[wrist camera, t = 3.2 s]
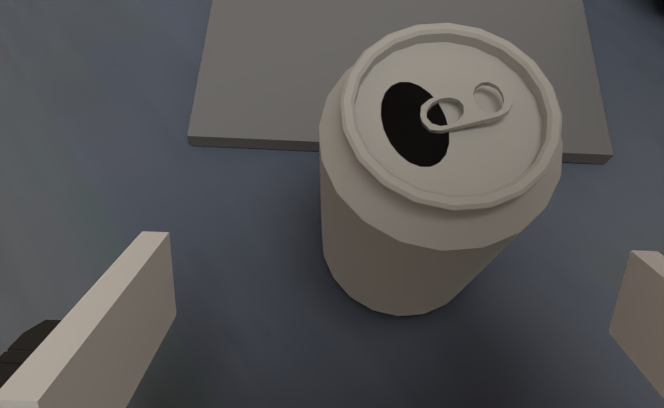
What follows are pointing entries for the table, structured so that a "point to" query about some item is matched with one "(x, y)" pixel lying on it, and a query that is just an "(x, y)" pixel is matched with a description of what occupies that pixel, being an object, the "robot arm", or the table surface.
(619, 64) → the table surface
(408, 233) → the can
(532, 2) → the stop plate
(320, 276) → the table surface
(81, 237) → the table surface
